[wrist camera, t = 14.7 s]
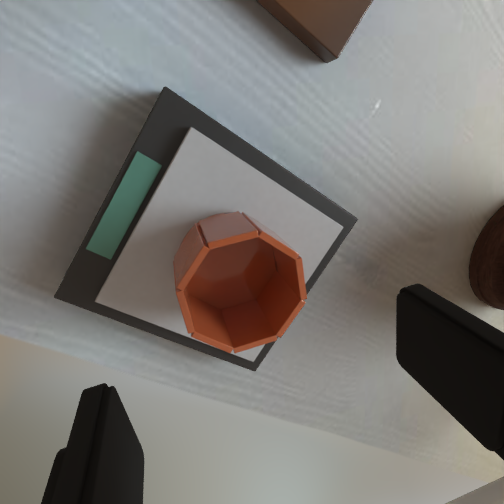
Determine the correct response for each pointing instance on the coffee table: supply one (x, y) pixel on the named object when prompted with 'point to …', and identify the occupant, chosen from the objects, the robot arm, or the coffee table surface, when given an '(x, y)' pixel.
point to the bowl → (237, 282)
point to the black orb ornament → (489, 263)
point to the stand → (320, 22)
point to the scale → (190, 221)
